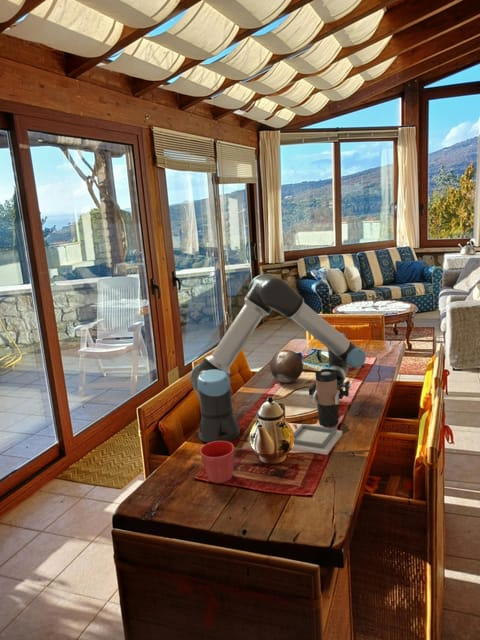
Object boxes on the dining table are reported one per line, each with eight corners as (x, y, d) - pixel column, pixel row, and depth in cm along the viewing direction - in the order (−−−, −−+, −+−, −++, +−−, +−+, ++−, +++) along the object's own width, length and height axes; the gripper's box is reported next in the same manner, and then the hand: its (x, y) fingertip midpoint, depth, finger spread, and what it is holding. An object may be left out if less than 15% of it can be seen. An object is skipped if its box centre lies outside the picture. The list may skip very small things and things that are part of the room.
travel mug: (339, 427, 188) (336, 375, 183) (317, 427, 189) (314, 375, 185) (339, 418, 195) (336, 368, 190) (318, 418, 197) (315, 368, 192)
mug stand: (282, 447, 177) (281, 441, 176) (300, 428, 190) (299, 422, 190) (327, 454, 169) (326, 448, 169) (342, 434, 183) (342, 427, 182)
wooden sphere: (268, 387, 234) (266, 356, 231) (274, 376, 248) (272, 346, 245) (301, 387, 231) (299, 355, 227) (305, 376, 245) (303, 345, 241)
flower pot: (207, 489, 155) (203, 460, 153) (200, 472, 166) (196, 444, 164) (241, 481, 158) (238, 452, 156) (232, 465, 168) (229, 437, 166)
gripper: (361, 388, 204) (354, 411, 183) (310, 386, 210) (297, 408, 189) (360, 370, 202) (353, 391, 181) (309, 369, 209) (296, 389, 188)
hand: (324, 400), depth 185 cm, fingers closed on travel mug, 7 cm apart
